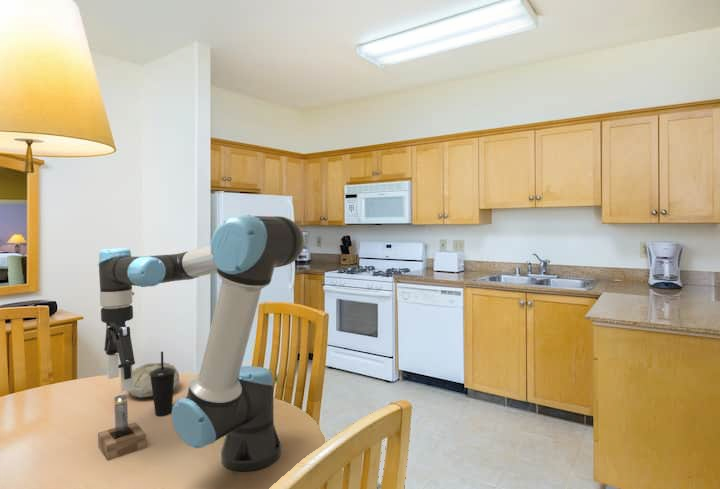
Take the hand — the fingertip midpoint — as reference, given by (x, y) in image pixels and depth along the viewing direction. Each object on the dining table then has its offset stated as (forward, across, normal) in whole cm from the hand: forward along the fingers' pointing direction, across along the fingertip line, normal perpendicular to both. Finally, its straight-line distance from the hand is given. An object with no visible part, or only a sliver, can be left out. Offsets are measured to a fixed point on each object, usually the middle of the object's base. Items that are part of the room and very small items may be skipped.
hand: (119, 384), depth 118 cm
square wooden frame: (+18, 0, 0) cm, 18 cm away
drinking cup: (+18, +15, -16) cm, 28 cm away
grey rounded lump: (+18, +35, -19) cm, 44 cm away
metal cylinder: (+18, 0, 0) cm, 18 cm away
